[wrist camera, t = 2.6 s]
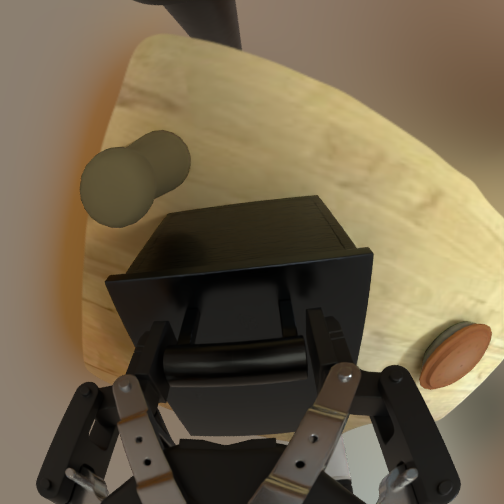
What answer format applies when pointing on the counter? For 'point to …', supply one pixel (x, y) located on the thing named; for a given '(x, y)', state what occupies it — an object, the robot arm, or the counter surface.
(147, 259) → the black open box
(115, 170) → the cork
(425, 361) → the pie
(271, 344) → the lid
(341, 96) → the counter surface
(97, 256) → the counter surface
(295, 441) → the robot arm
